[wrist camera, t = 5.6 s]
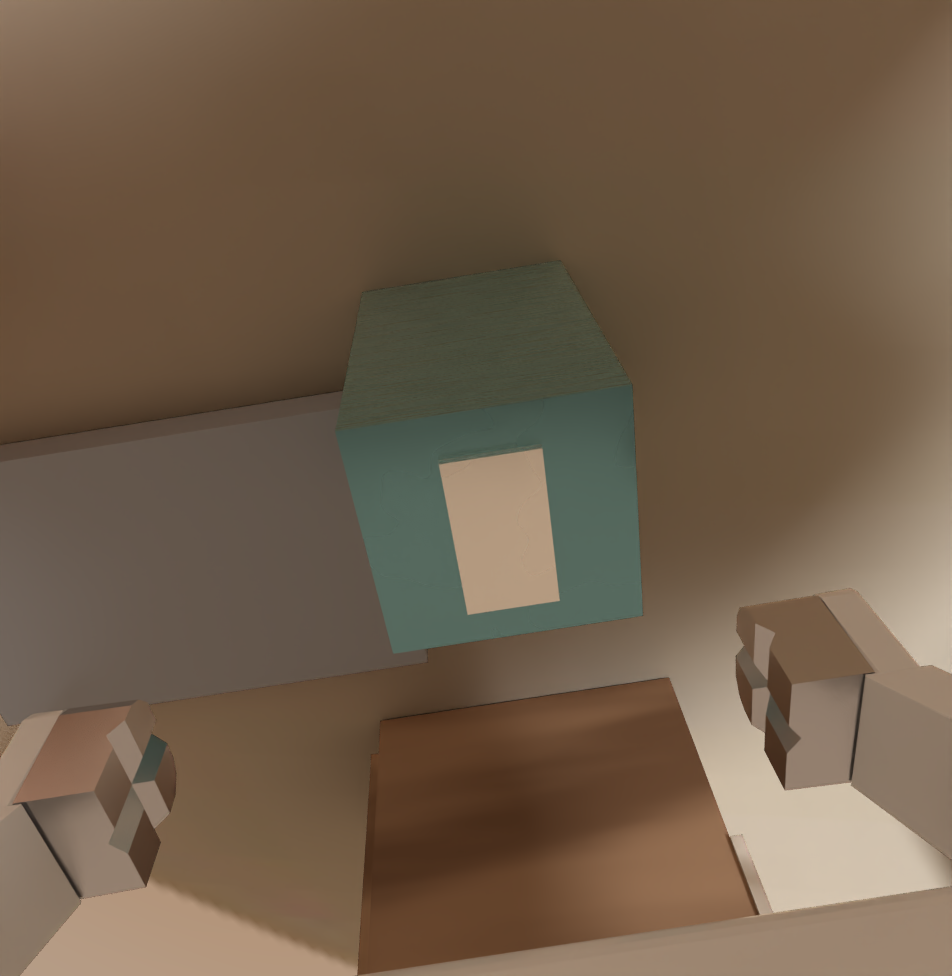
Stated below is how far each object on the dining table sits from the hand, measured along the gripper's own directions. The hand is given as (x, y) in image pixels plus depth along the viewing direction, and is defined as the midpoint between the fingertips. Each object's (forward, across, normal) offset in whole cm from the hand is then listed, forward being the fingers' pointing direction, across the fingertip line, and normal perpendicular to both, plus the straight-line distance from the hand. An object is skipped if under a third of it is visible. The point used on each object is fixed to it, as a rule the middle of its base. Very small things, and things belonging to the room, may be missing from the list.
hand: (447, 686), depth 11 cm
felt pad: (+10, +7, +3) cm, 13 cm away
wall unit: (+10, -1, +13) cm, 16 cm away
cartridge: (+10, -1, -1) cm, 10 cm away
